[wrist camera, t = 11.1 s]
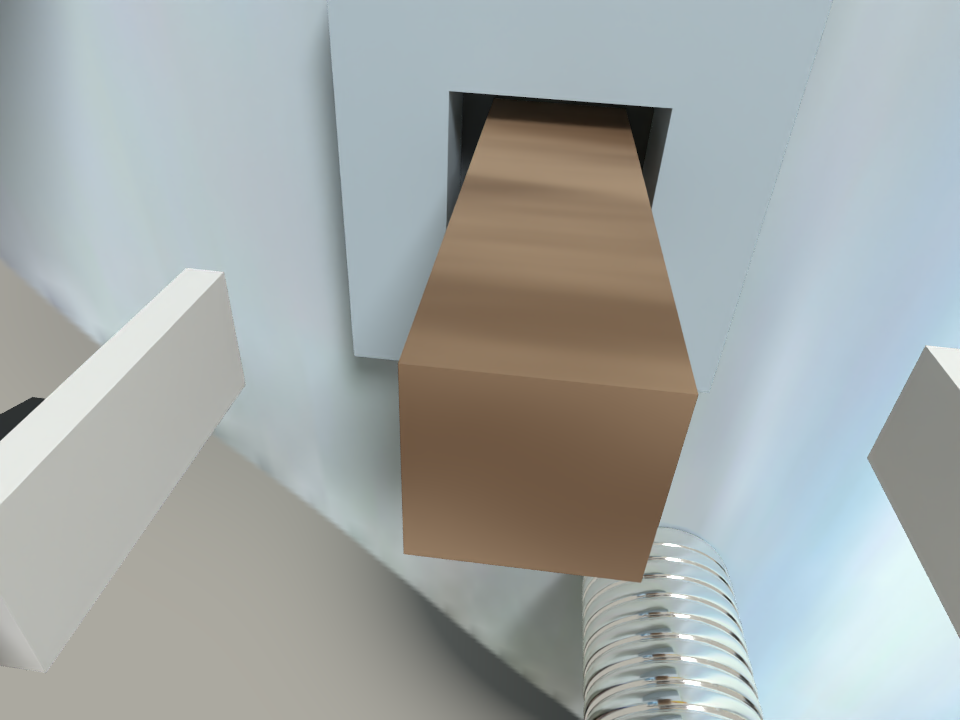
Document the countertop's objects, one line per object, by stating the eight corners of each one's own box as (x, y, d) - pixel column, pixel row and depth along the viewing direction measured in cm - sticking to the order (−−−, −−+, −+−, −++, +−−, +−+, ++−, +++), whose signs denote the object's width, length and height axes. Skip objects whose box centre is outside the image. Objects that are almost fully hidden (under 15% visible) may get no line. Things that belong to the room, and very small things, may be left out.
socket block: (695, 342, 25) (709, 392, 22) (375, 310, 25) (354, 355, 23) (802, -35, 18) (840, -22, 15) (355, -63, 18) (322, -56, 16)
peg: (605, 231, 22) (640, 582, 11) (487, 220, 23) (404, 553, 11) (625, 108, 20) (698, 394, 9) (494, 98, 20) (397, 363, 9)
